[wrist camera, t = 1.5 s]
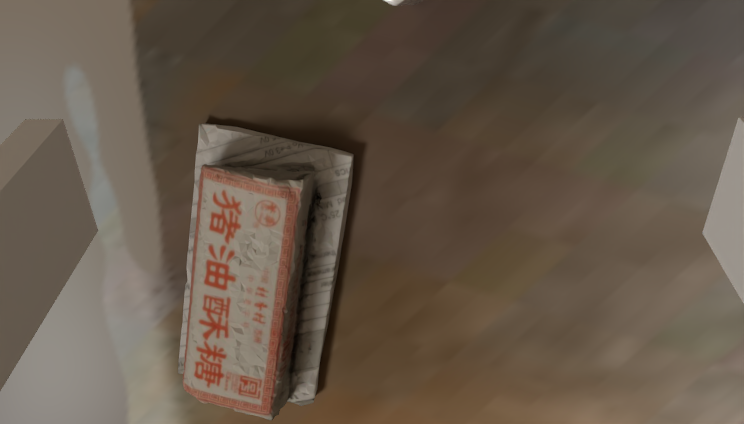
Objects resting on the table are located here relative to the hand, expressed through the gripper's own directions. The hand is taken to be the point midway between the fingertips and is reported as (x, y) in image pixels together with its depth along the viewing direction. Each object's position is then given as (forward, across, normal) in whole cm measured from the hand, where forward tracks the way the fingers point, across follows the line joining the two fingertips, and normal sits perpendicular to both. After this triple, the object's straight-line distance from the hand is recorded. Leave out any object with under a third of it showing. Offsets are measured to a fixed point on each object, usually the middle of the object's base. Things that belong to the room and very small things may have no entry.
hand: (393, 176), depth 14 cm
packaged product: (+23, +9, +22) cm, 33 cm away
